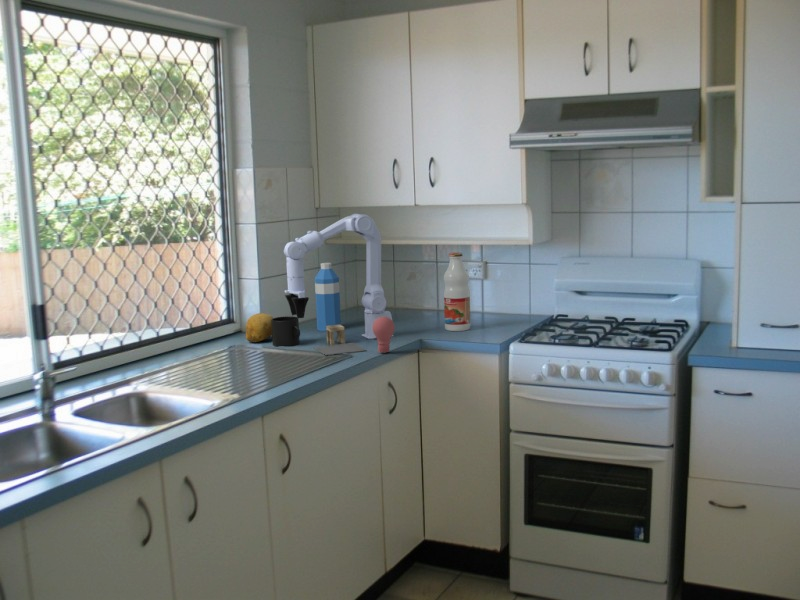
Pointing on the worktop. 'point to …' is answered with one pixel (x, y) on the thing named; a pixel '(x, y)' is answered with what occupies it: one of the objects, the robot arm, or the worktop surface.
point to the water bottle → (327, 297)
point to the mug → (285, 331)
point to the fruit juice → (456, 295)
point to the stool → (340, 334)
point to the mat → (340, 349)
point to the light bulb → (383, 332)
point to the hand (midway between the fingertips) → (297, 316)
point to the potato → (258, 327)
